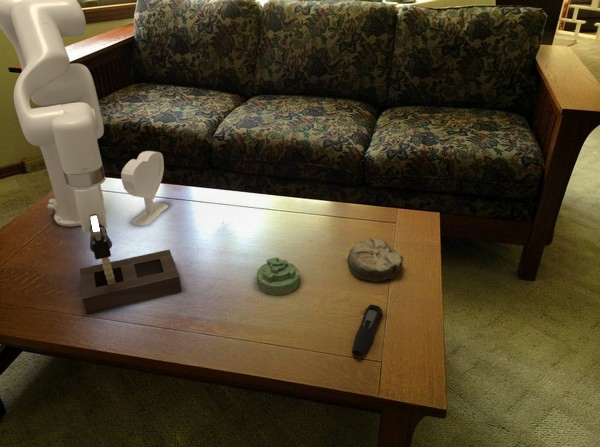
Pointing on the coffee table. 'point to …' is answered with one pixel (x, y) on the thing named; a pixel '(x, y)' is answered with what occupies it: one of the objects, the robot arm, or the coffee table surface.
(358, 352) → the electric trimmer
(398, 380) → the coffee table surface
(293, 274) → the decorative artifact
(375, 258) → the stone
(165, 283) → the frame
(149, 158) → the heart sculpture
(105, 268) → the toy lamp
